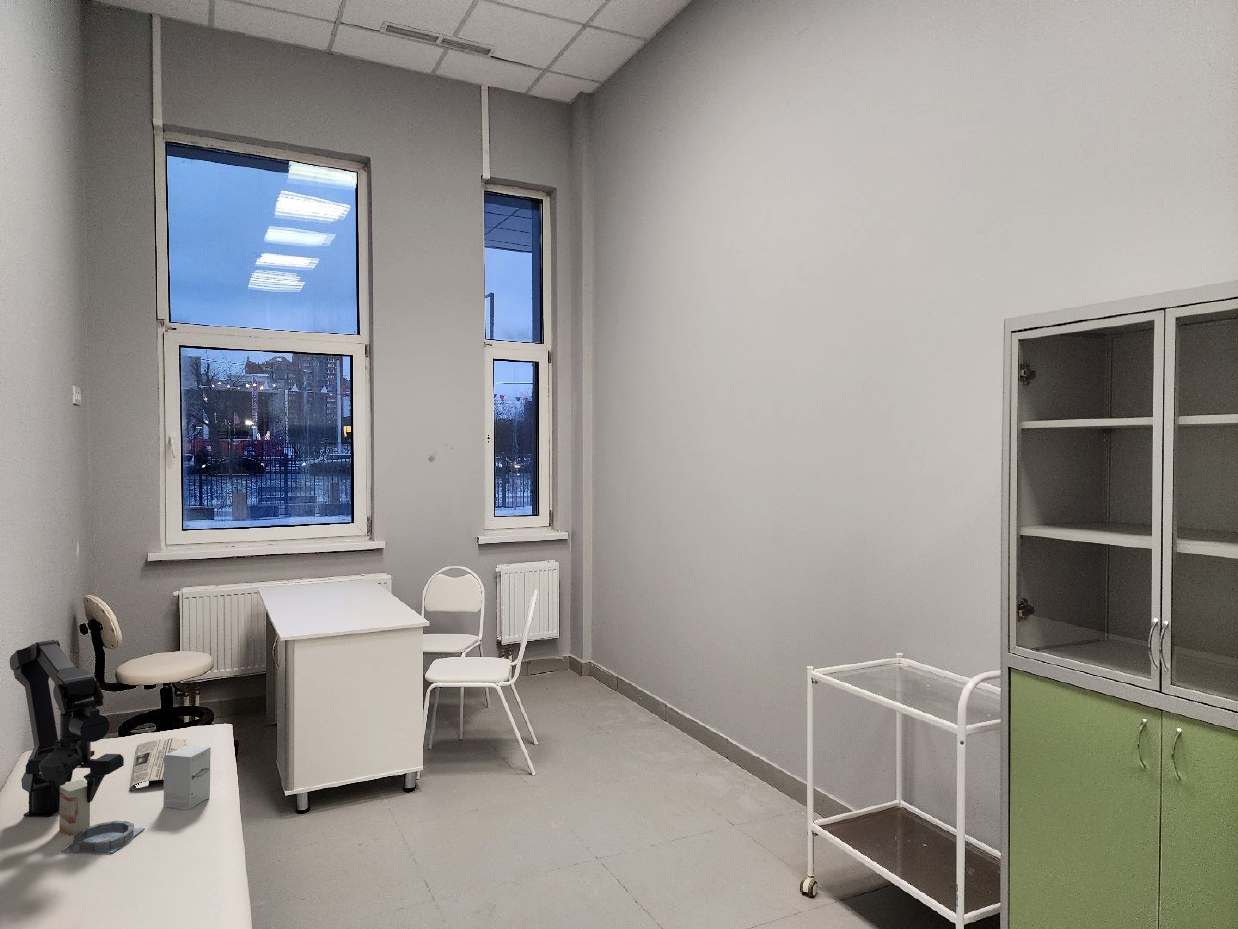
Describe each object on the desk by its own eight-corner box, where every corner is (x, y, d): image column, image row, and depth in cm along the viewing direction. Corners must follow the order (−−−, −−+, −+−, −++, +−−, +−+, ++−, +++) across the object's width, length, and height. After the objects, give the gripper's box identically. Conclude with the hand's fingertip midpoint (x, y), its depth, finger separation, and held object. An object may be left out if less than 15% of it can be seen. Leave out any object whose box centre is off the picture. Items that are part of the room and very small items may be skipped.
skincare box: (58, 830, 177) (58, 785, 177) (80, 823, 181) (80, 779, 181) (68, 836, 174) (68, 791, 174) (90, 829, 178) (91, 784, 178)
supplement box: (189, 810, 188) (189, 757, 188) (162, 807, 190) (162, 754, 190) (211, 797, 195) (211, 746, 195) (185, 795, 197) (185, 744, 197)
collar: (60, 853, 167) (60, 844, 167) (95, 829, 178) (96, 820, 178) (112, 854, 167) (112, 845, 167) (144, 830, 178) (144, 821, 178)
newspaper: (136, 750, 228) (137, 737, 228) (186, 743, 234) (186, 731, 234) (129, 795, 197) (129, 781, 197) (186, 786, 203) (186, 772, 203)
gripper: (6, 744, 170) (5, 817, 170) (92, 745, 169) (92, 818, 169) (44, 727, 181) (43, 796, 181) (125, 728, 181) (125, 796, 181)
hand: (75, 802), depth 178 cm, fingers closed on skincare box, 6 cm apart
